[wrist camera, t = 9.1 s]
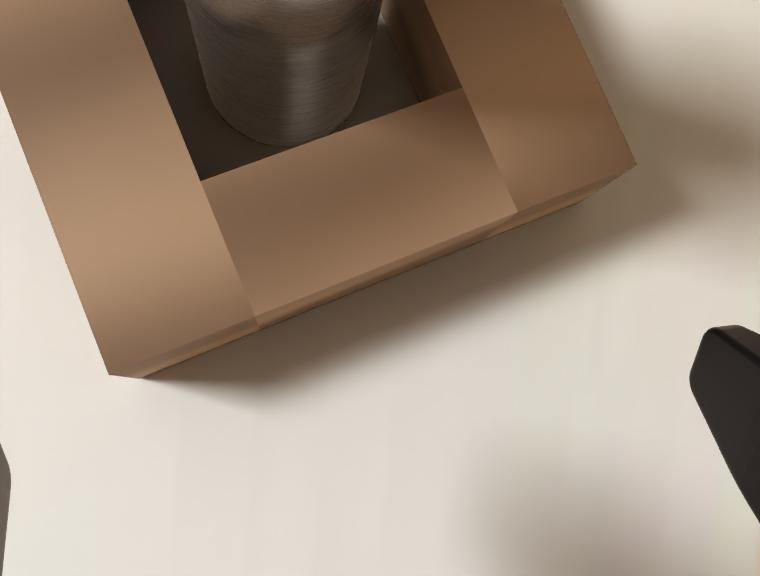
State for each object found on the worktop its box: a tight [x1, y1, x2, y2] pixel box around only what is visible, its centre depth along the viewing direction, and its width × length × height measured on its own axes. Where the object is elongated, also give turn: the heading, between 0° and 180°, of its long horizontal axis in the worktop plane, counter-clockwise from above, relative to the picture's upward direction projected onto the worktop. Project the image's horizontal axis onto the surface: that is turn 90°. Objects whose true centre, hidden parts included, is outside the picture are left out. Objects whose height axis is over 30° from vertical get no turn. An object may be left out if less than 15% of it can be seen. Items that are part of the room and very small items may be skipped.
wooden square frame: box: [0, 0, 637, 378], centre depth 17 cm, size 12×12×3 cm
